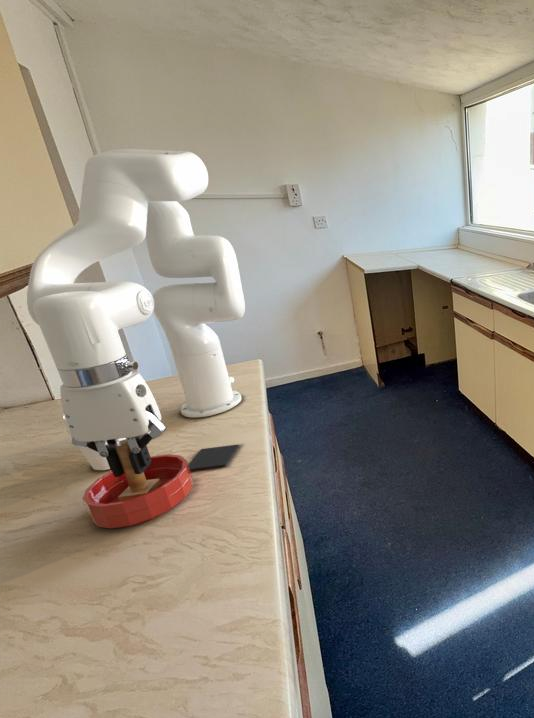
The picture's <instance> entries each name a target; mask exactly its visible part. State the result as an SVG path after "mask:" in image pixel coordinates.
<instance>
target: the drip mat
mask: <svg viewBox="0 0 534 718" xmlns="http://www.w3.org/2000/svg"><path fill="white" fill-rule="evenodd" d="M239 447H240V444H232V445H231V444H230V445H223V446H215V447H206V448H201V449H200V450H199V452H197V454H196V455H195V457H193V459H192V460H191V461H190V462H189V463H188V466H189V469H190V472H195V471H202V470H210V469H216V468H217V469H218V468H224V467H225V468H226V467H227V465H228V464H229V462H230V461H231V459H232V458H233V456H234V455H235V453H236V452H237V450H238V449H239Z"/></svg>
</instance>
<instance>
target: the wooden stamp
mask: <svg viewBox="0 0 534 718" xmlns="http://www.w3.org/2000/svg"><path fill="white" fill-rule="evenodd" d="M114 446H115V449H116V451H117V454H118V457H119V460H120V462H121V465H122V468H123V470H124V473H125V476H126V479H127V481H128V484H129V487H128V488H127V489H126V490H125V491H124V492H123V493H122V494H120V495H119V496H118V498H119V501H120V502H123V501H126V500H129V499H133V498H136V497H139V496H142V495H145V494H147V493H149V492H151V491H153V490H155V489H157V488H159V487H160V486H161V485H162V484H161V481H160V479H151V480H146V477H145V475H144V472H142V473H141V474H135V472H134V469H133V467H132V464H131V461H130V459H129V454H131V453H132V452H131V450H130V447H129V445H128V442H127V440H126V439H125V440H121V441H119V442H117V443H115V445H114Z"/></svg>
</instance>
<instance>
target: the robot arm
mask: <svg viewBox="0 0 534 718" xmlns="http://www.w3.org/2000/svg"><path fill="white" fill-rule="evenodd" d="M208 186H209V172H208V169H207V167H206V165H205V163H204V161H203V160H202V159H201V158H200V157H199V156H198V155H197V154H195V153H194V152H191V151H187V150H171V149H170V150H168V149H146V148H145V149H144V148H143V149H142V148H116V149H110V150H106V151H103V152H100V153H96V154H93V155H92V156H91V157H89V158H88V159H87V161H86V163H85V166H84V172H83V179H82V186H81V194H80V202H79V209H78V219H77V222H76V223H75V224H74V225H73V226H71V227H70V228H68V229H66V230H65V231H64V232H63V233H61V234H60V235H58V236H57V237H56V238H55V239H54V240H52V241H51V242H50V243H49V244H48V245H46V247H44V249H43V250H41V252H40V253H39V254H38V255H37V256H36V258H35V259H34V261H33V263H32V265H31V268H30V273H29V279H28V284H27V291H26V305H27V310H28V314H29V316H30V318H31V319H32V321H33V322H34V323H36V324H37V326H39V328H40V331H41V333H42V336H43V339H44V340H45V343H46V345H47V348H48V351H49V352H50V355H51V359H52V360H53V363H54V366H55V368H56V370H57V372H58V375H59V378H60V380H61V381H62V385H60V388H59V389H60V391H59V393H60V394H59V395H60V402H61V407H62V411H63V416H65V419H66V422H67V425H68V428H69V430H70V432H71V434H72V436H73V437H72V438H71V444H72V445H73V446H77V445H78V446H83V447H88V448H90V449H92V450H94V451H97V452H99V455H100V456H101V457H106V459H107V462H108V464H109V467H110V469H109V470H110V471H112V472H113V475H114V477H120V476H121V475H122V474H123V473H124V470H123V468H122V465H121V462H120V460H119V457H118V454H117V451H116V449H115V446H114V445H115V443H117V442H118V439H120V438H126V440H127V442H128V445H129V447H130V450H131V452H132V453H131V454H129V459H130V461H131V464H132V467H133V469H134V472H135V474H141V473H142V472H143V471H144V470H145V469H146V468H147V467H148V466H149V465H150V464H151V454H150V452H149V449H148V445H149V443H150V442H152V440H156V438H159V437H161V436H162V435H164V434H165V433H166V431H167V430H168V428H167V427H166V426H165V425H164V424H163V423H162V422H161V421H162V414H161V411H160V408H159V406H158V403H157V401H156V399H155V397H154V394H153V393H152V391H151V389H150V387H149V385H148V384H147V382H146V381H145V379H144V377H143V376H142V375H141V373H140V372H139V371H136V370H138V369H139V363H138V362H137V361H132V360H129V357H128V355H127V353H126V350H125V347H124V344H123V341H122V339H121V336H120V333H119V331H120V330H123V329H127V328H130V327H135V326H138V325H140V324H142V323H144V322H146V321H147V320H148V319H149V318H151V316H152V314H153V313H154V315H155V317H156V318H157V320H158V322H159V324H160V325H161V327H162V330H163V331H164V334H165V336H166V340H167V342H168V345H169V348H170V352H171V355H172V358H173V361H174V362H173V363H174V364H175V368H176V371H177V375H178V378H179V381H180V384H181V388H182V392H183V394H184V399H185V401H186V402H185V403H183V404H182V406H180V412H181V415H182V416H184V417H187V418H206V417H210V416H215V415H218V414H221V413H224V412H227V411H230V410H231V409H233V408H235V407H236V406H237V405H238V404H240V403H241V401H242V394H241V393H240V392H239V391H236V390H233V388H232V384H233V383H234V382H235V378H234V377H233V376H229V375H230V374H229V372H228V368H227V365H226V360H225V357H224V352H223V348H222V345H221V340H220V338H219V336H218V334H217V333H216V332H215V331H214V330H213V329H212V328H211V327H210V326H208V325H207V324H212V323H213V324H215V323H224V322H233V321H237V320H239V319H242V318H243V316H244V315H245V312H246V300H245V295H244V291H243V283H242V279H241V273H240V267H239V262H238V259H237V255H236V252H235V249H234V247H233V245H232V244H231V242H230V241H229V240H228V239H227V238H225V237H223V236H220V235H213V234H212V235H208V234H207V235H195V234H194V230H193V226H192V223H191V218H190V215H189V212H188V211H187V210H186V209H185V207H184V206H182V204H180V203H179V202H186V201H189V200H192V199H194V198H196V197H198V196H200V195H202V194H203V193H204V192H205V191H206V190H207V188H208ZM144 240H145V243H146V247H147V251H148V255H149V259H150V263H151V265H152V268H153V270H154V271H155V273H156V274H157V275H158V276H160V277H163V278H167V279H190V278H191V279H194V278H213V279H214V280H215V282H196V283H195V282H194V283H193V282H191V283H178V284H176V283H175V284H170V285H165V286H162V287H160V288H157V289H156V290H155V291H154V292H153V293H151V291H149V289H147V288H146V287H145V286H144V285H141V284H140V283H137V282H134V281H133V282H132V281H123V280H122V281H119V280H118V281H101V282H100V281H98V282H97V281H94V282H75V281H76V279H77V278H78V276H79V275H80V274H81V273H82V272H83V271H84V270H86V269H87V268H89V267H90V266H92V265H94V264H95V263H97V262H99V261H101V260H104V259H108V258H110V257H113V256H115V255H117V254H120V253H123V252H125V251H127V250H130V249H132V248H134V247H137V246H138V245H141V244H142V243H144ZM78 446H77V447H78Z"/></svg>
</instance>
